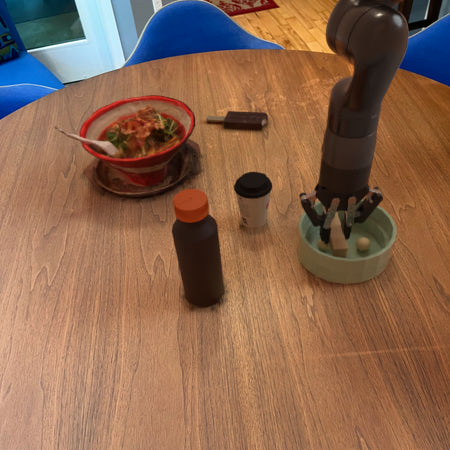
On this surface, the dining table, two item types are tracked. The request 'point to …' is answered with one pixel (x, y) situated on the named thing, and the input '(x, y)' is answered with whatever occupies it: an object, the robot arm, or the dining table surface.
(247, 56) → the dining table surface
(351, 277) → the bowl
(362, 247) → the chickpea
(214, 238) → the bottle
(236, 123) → the ice cream bar
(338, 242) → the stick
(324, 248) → the chickpea
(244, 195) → the coffee cup
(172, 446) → the dining table surface
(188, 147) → the stew
